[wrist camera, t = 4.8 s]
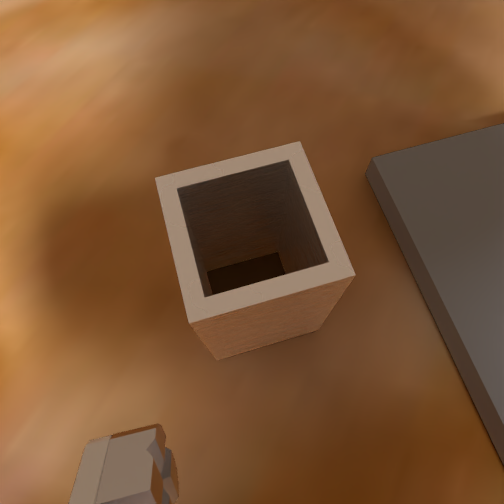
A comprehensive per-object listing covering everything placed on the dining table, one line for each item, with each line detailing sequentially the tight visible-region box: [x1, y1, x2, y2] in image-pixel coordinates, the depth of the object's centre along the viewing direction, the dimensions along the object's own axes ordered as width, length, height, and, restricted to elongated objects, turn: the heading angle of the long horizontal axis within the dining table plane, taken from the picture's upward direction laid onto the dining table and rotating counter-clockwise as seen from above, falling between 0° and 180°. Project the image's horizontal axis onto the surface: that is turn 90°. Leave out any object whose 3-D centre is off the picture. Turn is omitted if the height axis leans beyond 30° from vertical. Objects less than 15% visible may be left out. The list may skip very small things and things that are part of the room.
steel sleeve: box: [155, 141, 356, 360], centre depth 16 cm, size 5×5×8 cm
